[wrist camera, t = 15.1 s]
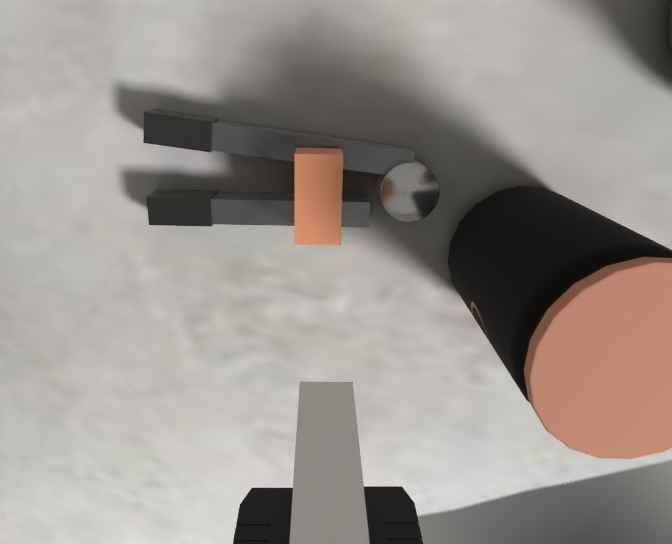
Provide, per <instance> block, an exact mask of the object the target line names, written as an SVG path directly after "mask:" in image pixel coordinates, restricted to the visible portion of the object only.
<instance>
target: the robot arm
mask: <svg viewBox="0 0 672 544" xmlns="http://www.w3.org/2000/svg"><path fill="white" fill-rule="evenodd" d="M233 544H423V542H422V536H421V531H420V527H419V525H418V518H417V513H416V509H415V504H414V502H413V501H412V500H411V498H410V497H409V495H408V494H407V493H406V491H405V490H404V489H403V487H364V485H363V476H362V467H361V457H360V448H359V438H358V429H357V420H356V410H355V401H354V391H353V382H300V389H299V404H298V420H297V435H296V451H295V466H294V481H293V488H252V489H251V490H250V492H249V493H248V494H247V496H246V497H245V498H244V500H243V501H242V503H241V504H240V508H239V513H238V519H237V525H236V529H235V535H234V542H233Z"/></svg>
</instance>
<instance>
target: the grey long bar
mask: <svg viewBox="0 0 672 544" xmlns="http://www.w3.org/2000/svg"><path fill="white" fill-rule="evenodd" d="M144 143H149V144H156V145H163V146H170V147H177V148H184V149H192V150H199V151H206V152H211V151H212V150H213V151H220V152H227V153H234V154H241V155H248V156H255V157H262V158H269V159H276V160H283V161H290V162H295V151H296V148H337V149H342V152H343V169H347V170H354V171H361V172H368V173H375V174H379V175H378V178H377V184H376V188H377V193H378V196H379V198H380V200H381V202H382V204H383V206H384V208H385V210H386V211H387V212H388V214H390V215H391V216H392V217H393V218H395V219H397V220H400V221H404V222H413V221H417V220H420V219H422V218H424V217H426V216H427V215H428V214H429V213H430V212H431V211H432V210H433V209H434V207H435V206H436V204H437V201H438V197H439V186H438V182H437V180H436V178H435V176H434V175H433V174H432V173H431V172H430V171H429V170H428V169H427V168H426V167H425V166H424V165H422V164H421V163H420V162H419V161H417V160H415V154H416V152H414V151H413V150H412V149H411V148H406V147H400V146H393V145H386V144H379V143H372V142H365V141H359V140H352V139H345V138H338V137H331V136H324V135H318V134H311V133H304V132H297V131H290V130H283V129H277V128H270V127H263V126H256V125H249V124H242V123H236V122H229V121H222V120H219V119H218V118H211V117H205V116H198V115H191V114H184V113H177V112H171V111H164V110H157V109H155V110H150V111H145V112H144Z"/></svg>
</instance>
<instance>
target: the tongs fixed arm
mask: <svg viewBox="0 0 672 544" xmlns="http://www.w3.org/2000/svg"><path fill="white" fill-rule="evenodd" d="M147 207H148V218H149V225H176V226H212V225H213V224H234V225H286V226H295V194H281V193H235V192H217V191H203V190H156V191H154V192H153V193H152V194H150V195H149V196H147ZM369 220H370V200H369V198H368V195H342V215H341V227H369Z"/></svg>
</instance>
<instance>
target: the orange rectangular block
mask: <svg viewBox="0 0 672 544" xmlns="http://www.w3.org/2000/svg"><path fill="white" fill-rule="evenodd" d="M342 184H343V152H342V149H337V148H296V151H295V230H294V244H314V245H341V215H342Z"/></svg>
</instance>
